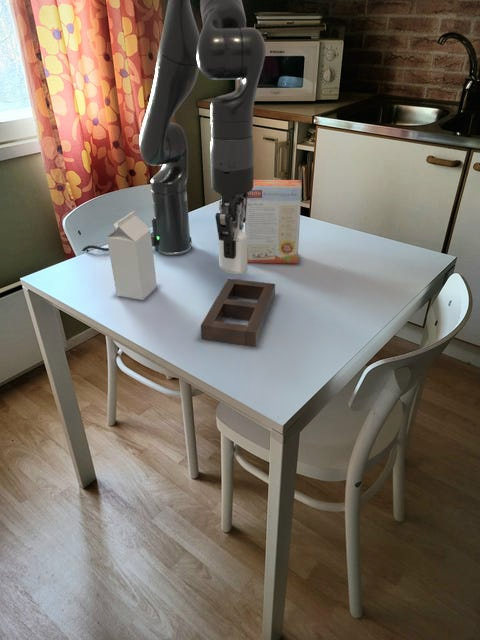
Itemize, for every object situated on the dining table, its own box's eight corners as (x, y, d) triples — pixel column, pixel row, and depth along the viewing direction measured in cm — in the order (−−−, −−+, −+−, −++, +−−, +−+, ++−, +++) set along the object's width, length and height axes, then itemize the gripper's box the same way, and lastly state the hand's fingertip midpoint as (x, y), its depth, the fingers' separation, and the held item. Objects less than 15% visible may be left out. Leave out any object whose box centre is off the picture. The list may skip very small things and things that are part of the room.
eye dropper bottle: (229, 277, 92) (228, 218, 85) (217, 265, 96) (215, 208, 89) (249, 273, 93) (250, 214, 87) (236, 261, 98) (236, 204, 91)
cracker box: (297, 255, 132) (302, 179, 121) (297, 264, 127) (302, 186, 116) (246, 253, 133) (246, 177, 122) (244, 263, 128) (244, 185, 117)
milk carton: (157, 287, 118) (148, 212, 107) (143, 301, 112) (132, 223, 102) (131, 282, 120) (120, 209, 109) (116, 296, 114) (103, 220, 104)
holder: (201, 339, 99) (200, 325, 97) (228, 291, 116) (227, 278, 114) (255, 347, 96) (255, 332, 94) (274, 296, 113) (275, 283, 111)
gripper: (222, 150, 90) (224, 236, 99) (198, 172, 78) (202, 266, 88) (262, 153, 88) (260, 239, 98) (243, 175, 77) (242, 271, 86)
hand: (233, 252), depth 93 cm, fingers closed on eye dropper bottle, 4 cm apart
